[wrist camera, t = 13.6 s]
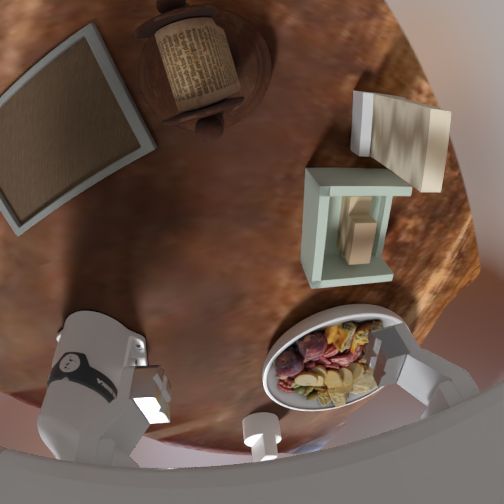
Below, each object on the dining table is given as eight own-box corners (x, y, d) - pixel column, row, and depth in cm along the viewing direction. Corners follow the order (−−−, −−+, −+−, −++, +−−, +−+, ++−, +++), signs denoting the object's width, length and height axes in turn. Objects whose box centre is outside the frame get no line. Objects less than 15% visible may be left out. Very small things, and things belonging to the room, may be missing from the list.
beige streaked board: (381, 152, 38) (440, 192, 26) (364, 152, 38) (420, 192, 26) (384, 94, 34) (451, 111, 22) (367, 92, 34) (430, 108, 22)
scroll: (281, 110, 36) (334, 147, 19) (164, 143, 37) (114, 209, 20) (251, -1, 28) (277, -67, 11) (129, 36, 29) (46, 12, 12)
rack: (373, 254, 48) (391, 280, 42) (300, 259, 47) (310, 288, 41) (387, 168, 40) (412, 187, 34) (305, 167, 40) (320, 186, 34)
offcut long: (355, 245, 45) (362, 256, 43) (336, 246, 45) (342, 257, 43) (363, 187, 41) (371, 196, 38) (342, 187, 40) (350, 196, 38)
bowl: (428, 312, 57) (446, 339, 51) (349, 398, 71) (357, 423, 64) (308, 274, 49) (321, 307, 42) (236, 383, 63) (239, 415, 56)
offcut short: (362, 253, 43) (369, 263, 40) (343, 254, 42) (348, 264, 40) (369, 214, 39) (377, 222, 37) (348, 214, 39) (355, 223, 37)
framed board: (156, 149, 36) (9, 243, 40) (158, 146, 37) (13, 238, 41) (91, 21, 26) (-46, 149, 30) (96, 23, 27) (-40, 146, 32)
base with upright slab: (270, 429, 75) (276, 468, 65) (238, 426, 73) (241, 467, 63) (283, 413, 71) (290, 455, 61) (248, 410, 69) (252, 454, 59)
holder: (389, 151, 39) (401, 158, 36) (349, 149, 39) (359, 156, 36) (394, 95, 35) (406, 98, 32) (353, 90, 35) (363, 92, 32)
